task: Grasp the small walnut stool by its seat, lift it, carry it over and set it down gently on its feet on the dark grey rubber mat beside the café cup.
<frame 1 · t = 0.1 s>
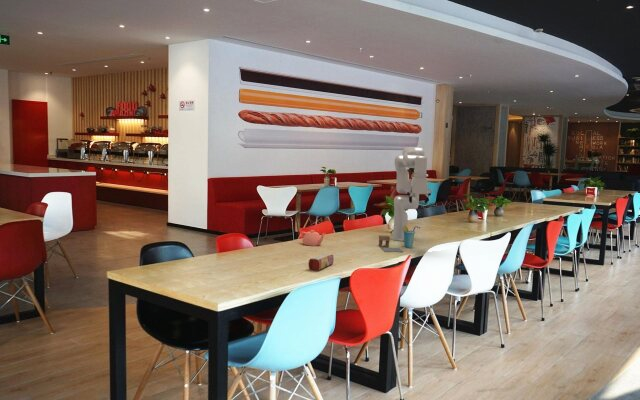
hand: (418, 203, 354), 31 cm above the table, fingers open, 9 cm apart
cup: (409, 247, 372), on the table
stool: (383, 246, 371), on the table
teapot: (312, 245, 365), on the table
mat: (392, 250, 360), on the table
snack package: (321, 267, 301), on the table
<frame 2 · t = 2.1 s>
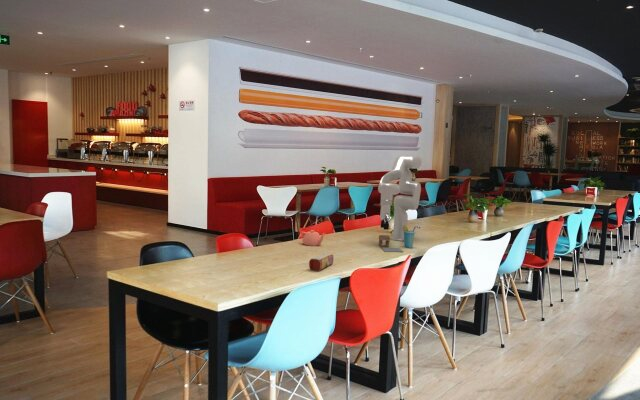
hand: (384, 228, 370), 12 cm above the table, fingers open, 9 cm apart
nothing on the table moved.
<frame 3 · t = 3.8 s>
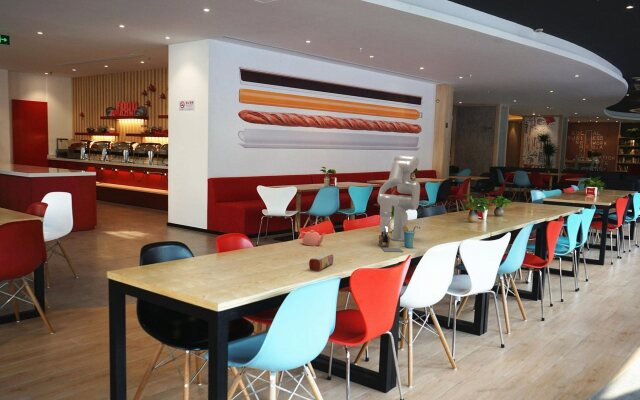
hand: (384, 241, 371), 3 cm above the table, fingers closed on stool, 6 cm apart
stool: (383, 246, 371), on the table, touching gripper
everything else where it was.
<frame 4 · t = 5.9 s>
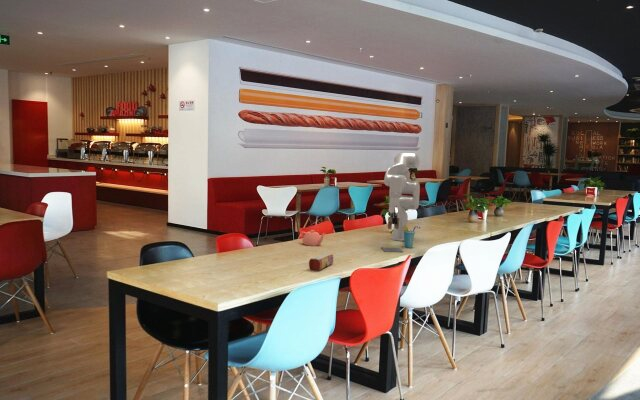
hand: (393, 223, 358), 17 cm above the table, fingers closed on stool, 6 cm apart
stool: (393, 228, 358), point 14 cm above the table, touching gripper
everything else where it was.
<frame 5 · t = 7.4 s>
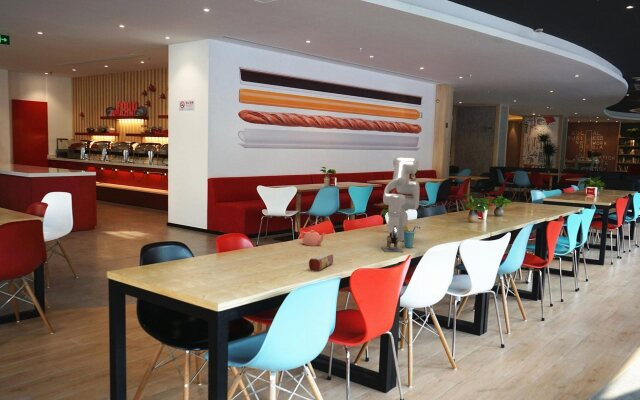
hand: (392, 242, 359), 5 cm above the table, fingers closed on stool, 6 cm apart
stool: (392, 247, 359), point 2 cm above the table, touching gripper
everything else where it was.
when the fingers open (4 cm above the table, at t = 8.3 s): stool stays where it is, resting on mat.
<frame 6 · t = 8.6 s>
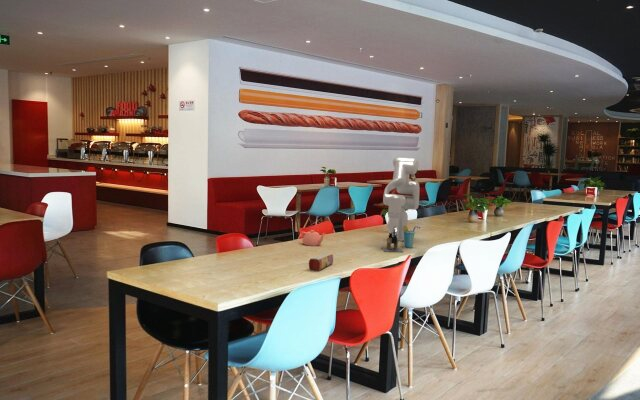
hand: (392, 242, 359), 5 cm above the table, fingers open, 9 cm apart
stool: (392, 249, 360), resting on mat
everything else where it was.
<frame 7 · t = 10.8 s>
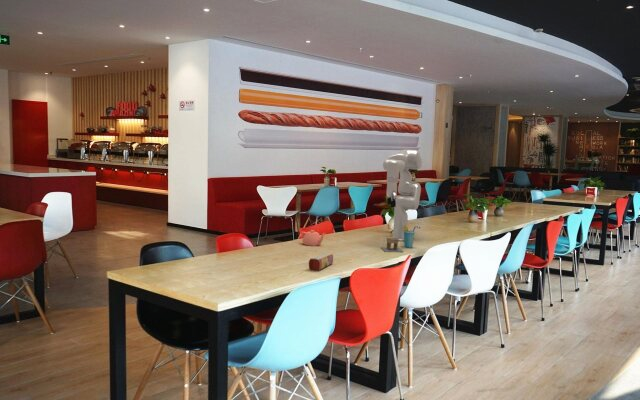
hand: (391, 205, 369), 27 cm above the table, fingers open, 9 cm apart
nothing on the table moved.
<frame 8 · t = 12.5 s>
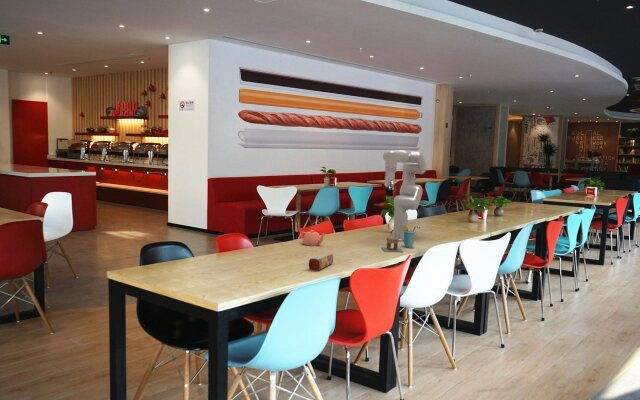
hand: (389, 195, 375), 33 cm above the table, fingers open, 9 cm apart
nothing on the table moved.
at the end: stool inside the target area on the mat (0.1 cm from its centre), point 0.4 cm above the mat's base; stool tilted 0°; the gripper is holding nothing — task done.
